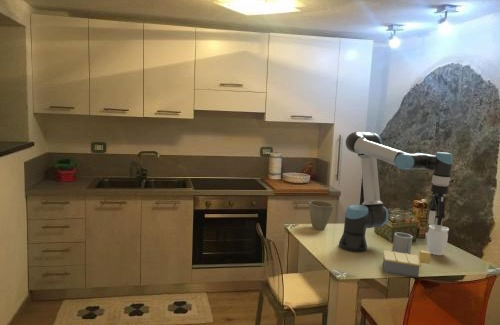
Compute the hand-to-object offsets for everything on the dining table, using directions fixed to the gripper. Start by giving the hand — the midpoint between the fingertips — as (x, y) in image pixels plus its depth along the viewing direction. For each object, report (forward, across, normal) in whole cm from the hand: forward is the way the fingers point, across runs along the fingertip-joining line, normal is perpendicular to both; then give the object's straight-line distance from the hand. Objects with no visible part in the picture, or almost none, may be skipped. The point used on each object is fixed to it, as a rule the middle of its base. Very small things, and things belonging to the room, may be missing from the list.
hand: (434, 227), depth 203 cm
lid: (+16, -6, +12) cm, 21 cm away
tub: (+22, -6, +14) cm, 27 cm away
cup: (+22, +15, +11) cm, 29 cm away
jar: (+22, +30, -10) cm, 38 cm away
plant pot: (+22, +48, +56) cm, 76 cm away
